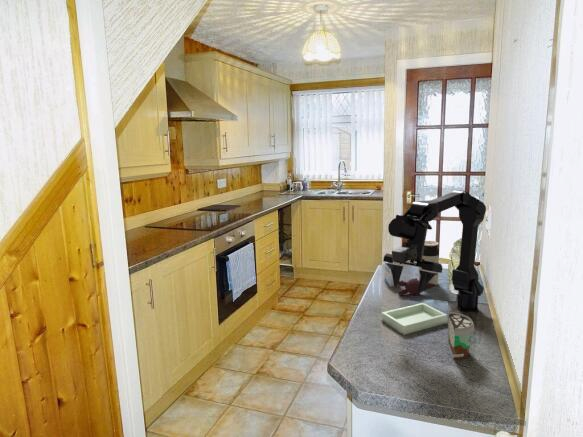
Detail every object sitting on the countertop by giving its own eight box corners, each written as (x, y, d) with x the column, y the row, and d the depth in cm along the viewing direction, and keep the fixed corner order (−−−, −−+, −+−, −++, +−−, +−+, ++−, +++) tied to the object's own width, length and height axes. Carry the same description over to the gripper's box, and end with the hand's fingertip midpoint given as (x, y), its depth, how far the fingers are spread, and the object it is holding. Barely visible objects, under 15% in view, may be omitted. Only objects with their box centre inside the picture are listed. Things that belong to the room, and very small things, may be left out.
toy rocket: (432, 275, 172) (395, 278, 173) (436, 276, 164) (397, 280, 166) (434, 292, 171) (397, 295, 173) (438, 294, 164) (399, 298, 165)
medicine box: (384, 280, 186) (384, 261, 184) (394, 280, 186) (394, 261, 185) (390, 286, 178) (390, 267, 177) (400, 286, 179) (400, 266, 177)
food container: (477, 363, 118) (479, 330, 116) (454, 362, 119) (455, 329, 117) (468, 342, 129) (469, 311, 127) (447, 341, 131) (448, 310, 129)
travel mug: (417, 280, 185) (417, 240, 181) (436, 280, 184) (437, 240, 180) (420, 286, 177) (420, 245, 174) (439, 286, 176) (441, 245, 172)
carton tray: (422, 310, 154) (422, 302, 153) (447, 323, 143) (447, 314, 142) (381, 320, 147) (381, 312, 146) (403, 334, 136) (403, 326, 135)
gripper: (376, 234, 137) (368, 281, 136) (426, 241, 122) (416, 294, 121) (397, 238, 143) (389, 284, 143) (447, 246, 129) (438, 297, 128)
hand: (407, 289), depth 133 cm, fingers open, 9 cm apart
